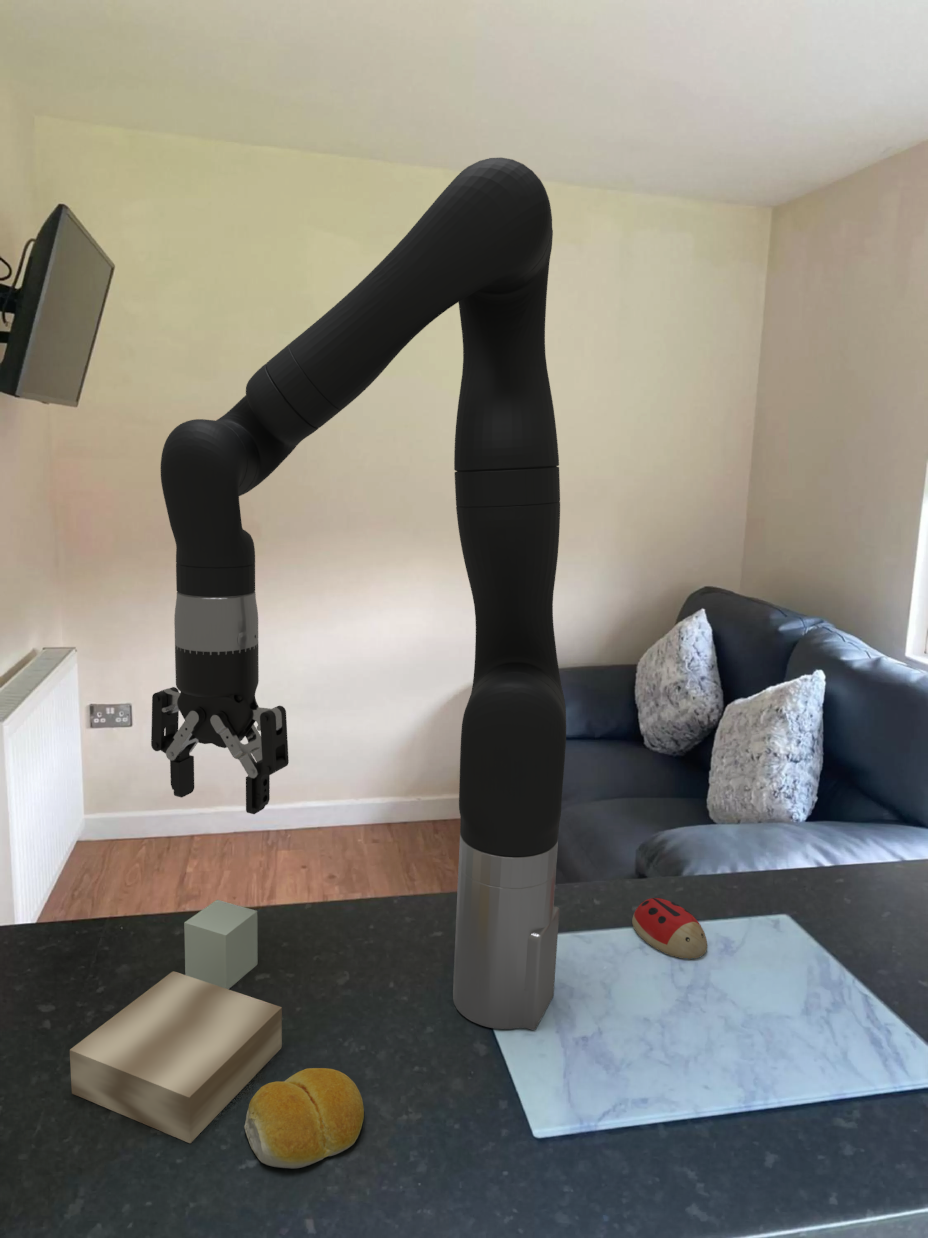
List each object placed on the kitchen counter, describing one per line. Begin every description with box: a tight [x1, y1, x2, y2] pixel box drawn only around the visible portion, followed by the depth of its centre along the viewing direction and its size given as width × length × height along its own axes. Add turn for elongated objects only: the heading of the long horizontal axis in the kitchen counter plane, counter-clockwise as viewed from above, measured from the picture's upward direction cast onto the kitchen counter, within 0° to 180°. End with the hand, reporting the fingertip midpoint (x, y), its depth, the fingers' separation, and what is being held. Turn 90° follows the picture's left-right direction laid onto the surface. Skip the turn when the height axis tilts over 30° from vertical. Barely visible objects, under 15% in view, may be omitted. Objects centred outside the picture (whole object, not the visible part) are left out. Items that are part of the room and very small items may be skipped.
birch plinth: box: [69, 971, 283, 1144], centre depth 73 cm, size 12×12×4 cm
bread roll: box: [243, 1067, 365, 1170], centre depth 68 cm, size 8×9×4 cm
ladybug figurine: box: [631, 897, 708, 960], centre depth 97 cm, size 7×10×4 cm
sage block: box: [183, 899, 259, 990], centre depth 87 cm, size 5×5×6 cm
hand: (219, 802), depth 84 cm, fingers open, 8 cm apart
